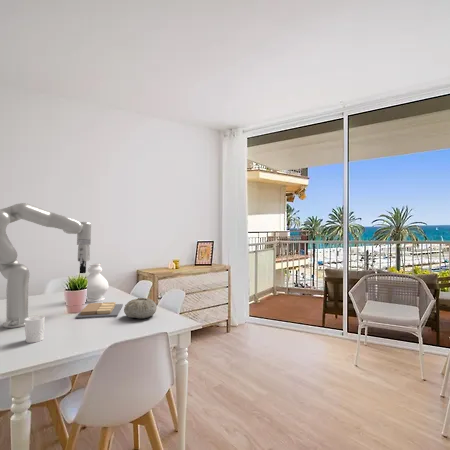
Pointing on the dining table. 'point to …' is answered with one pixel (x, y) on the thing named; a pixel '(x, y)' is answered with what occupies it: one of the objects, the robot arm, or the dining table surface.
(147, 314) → the decorative shell
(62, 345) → the dining table surface
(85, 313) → the floor board
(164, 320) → the dining table surface
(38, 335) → the white cup
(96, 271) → the decorative vase
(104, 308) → the board
